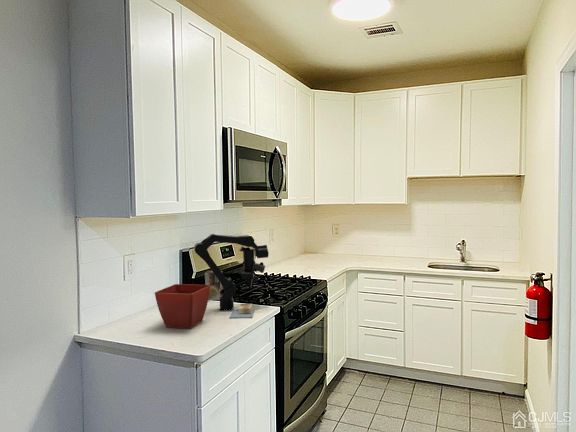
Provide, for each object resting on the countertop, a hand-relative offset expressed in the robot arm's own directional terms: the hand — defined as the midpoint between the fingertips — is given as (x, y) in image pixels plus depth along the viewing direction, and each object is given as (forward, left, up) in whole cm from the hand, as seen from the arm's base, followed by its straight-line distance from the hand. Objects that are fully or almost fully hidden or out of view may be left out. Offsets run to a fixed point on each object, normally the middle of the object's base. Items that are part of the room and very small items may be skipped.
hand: (250, 288), depth 224 cm
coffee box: (-22, +18, -10) cm, 30 cm away
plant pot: (-28, -28, -10) cm, 41 cm away
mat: (-3, -15, -10) cm, 18 cm away
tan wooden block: (-1, -7, -8) cm, 11 cm away
